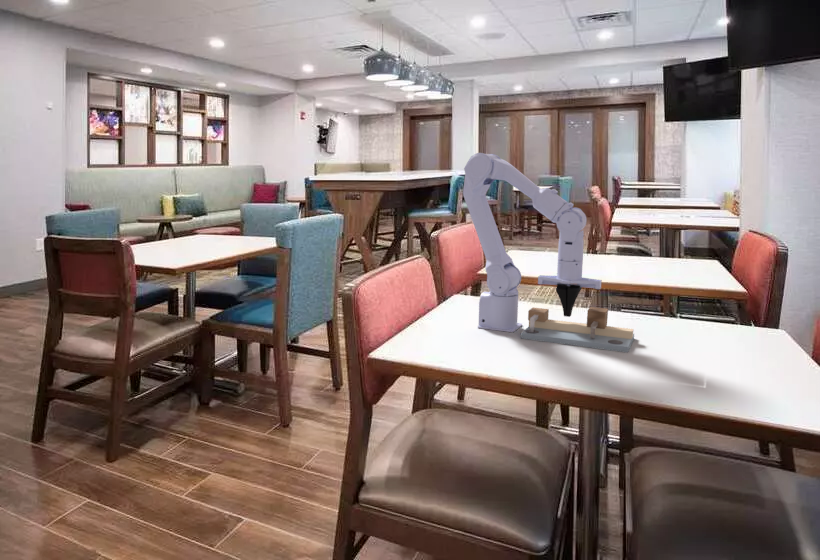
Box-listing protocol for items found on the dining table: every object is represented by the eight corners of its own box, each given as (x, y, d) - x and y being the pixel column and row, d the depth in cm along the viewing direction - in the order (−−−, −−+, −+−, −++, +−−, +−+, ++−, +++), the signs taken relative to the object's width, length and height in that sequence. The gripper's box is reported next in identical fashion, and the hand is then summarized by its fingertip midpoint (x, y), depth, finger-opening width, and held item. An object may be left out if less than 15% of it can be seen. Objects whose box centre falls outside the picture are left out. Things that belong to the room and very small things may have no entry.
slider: (583, 337, 131) (584, 314, 130) (589, 329, 138) (590, 306, 137) (601, 339, 129) (602, 316, 128) (606, 331, 136) (608, 308, 135)
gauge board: (520, 338, 136) (521, 316, 135) (534, 326, 146) (534, 305, 145) (627, 352, 125) (629, 328, 124) (633, 338, 136) (635, 316, 135)
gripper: (535, 260, 135) (533, 315, 138) (599, 264, 129) (595, 322, 131) (543, 256, 141) (540, 309, 144) (604, 260, 135) (600, 316, 137)
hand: (567, 315), depth 138 cm, fingers closed
